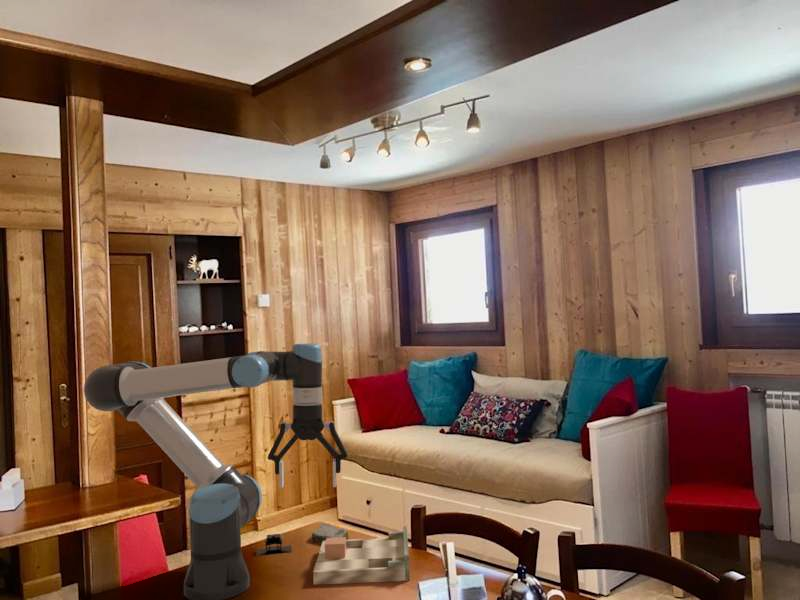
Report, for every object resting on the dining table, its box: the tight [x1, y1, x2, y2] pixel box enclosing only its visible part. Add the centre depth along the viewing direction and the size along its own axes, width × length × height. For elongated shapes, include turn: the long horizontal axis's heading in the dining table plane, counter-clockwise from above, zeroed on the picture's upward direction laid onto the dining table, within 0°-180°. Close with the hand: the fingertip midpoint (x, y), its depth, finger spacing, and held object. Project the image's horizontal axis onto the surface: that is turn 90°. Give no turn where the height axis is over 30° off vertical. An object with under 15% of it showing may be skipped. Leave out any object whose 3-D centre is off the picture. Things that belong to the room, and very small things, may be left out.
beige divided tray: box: [312, 525, 411, 586], centre depth 168 cm, size 23×22×6 cm
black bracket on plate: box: [256, 533, 293, 557], centre depth 181 cm, size 12×7×5 cm, turn 102°
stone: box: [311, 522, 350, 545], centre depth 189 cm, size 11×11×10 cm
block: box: [325, 537, 346, 559], centre depth 168 cm, size 5×5×4 cm
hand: (308, 486), depth 168 cm, fingers open, 13 cm apart
